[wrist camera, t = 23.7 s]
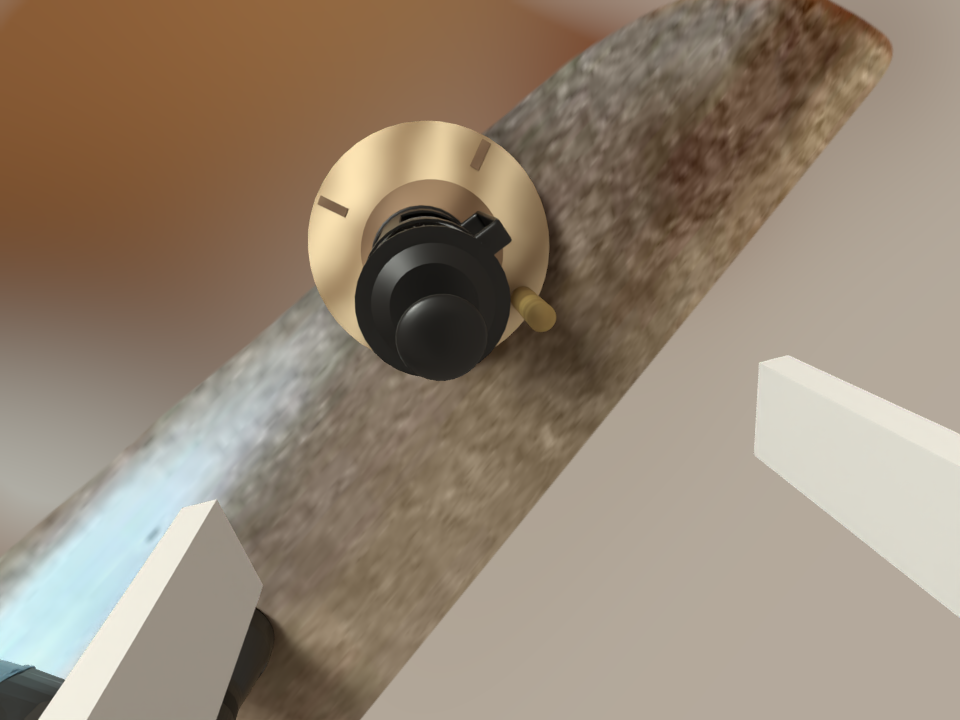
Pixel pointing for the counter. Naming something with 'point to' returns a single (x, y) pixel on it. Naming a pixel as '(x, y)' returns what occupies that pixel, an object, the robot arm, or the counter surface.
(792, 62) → the counter surface
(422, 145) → the turntable
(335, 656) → the counter surface
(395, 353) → the french press
